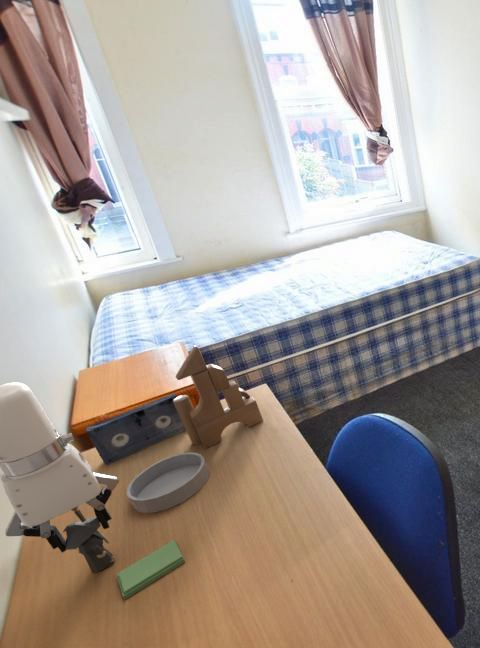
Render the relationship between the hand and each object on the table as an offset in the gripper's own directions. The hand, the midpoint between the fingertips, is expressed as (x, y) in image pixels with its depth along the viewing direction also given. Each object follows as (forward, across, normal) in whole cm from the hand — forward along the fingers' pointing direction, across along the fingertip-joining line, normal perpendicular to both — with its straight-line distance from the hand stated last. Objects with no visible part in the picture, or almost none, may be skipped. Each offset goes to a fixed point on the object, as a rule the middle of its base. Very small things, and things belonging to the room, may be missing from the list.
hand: (85, 534), depth 83 cm
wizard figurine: (+7, 0, 0) cm, 7 cm away
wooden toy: (+7, -29, -24) cm, 38 cm away
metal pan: (+7, -14, -12) cm, 20 cm away
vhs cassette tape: (+7, -14, -36) cm, 39 cm away
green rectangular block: (+7, -6, +10) cm, 14 cm away
